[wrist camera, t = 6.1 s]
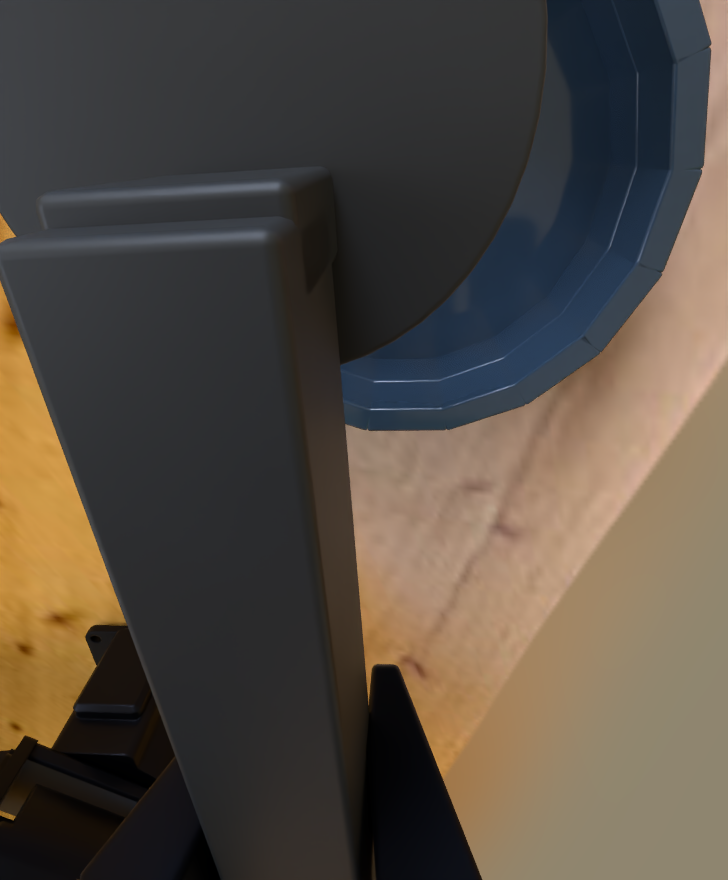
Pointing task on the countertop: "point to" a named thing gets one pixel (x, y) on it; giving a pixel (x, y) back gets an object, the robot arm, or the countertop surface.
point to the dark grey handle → (247, 340)
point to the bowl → (562, 223)
